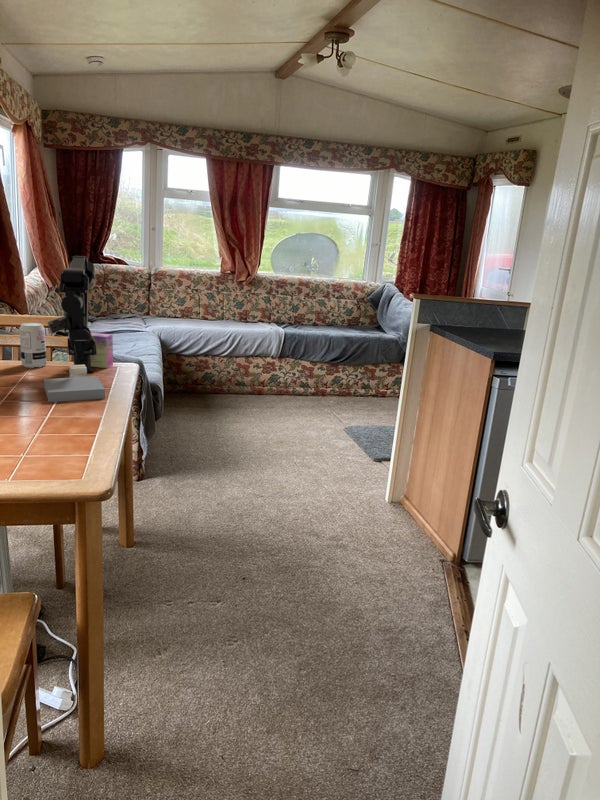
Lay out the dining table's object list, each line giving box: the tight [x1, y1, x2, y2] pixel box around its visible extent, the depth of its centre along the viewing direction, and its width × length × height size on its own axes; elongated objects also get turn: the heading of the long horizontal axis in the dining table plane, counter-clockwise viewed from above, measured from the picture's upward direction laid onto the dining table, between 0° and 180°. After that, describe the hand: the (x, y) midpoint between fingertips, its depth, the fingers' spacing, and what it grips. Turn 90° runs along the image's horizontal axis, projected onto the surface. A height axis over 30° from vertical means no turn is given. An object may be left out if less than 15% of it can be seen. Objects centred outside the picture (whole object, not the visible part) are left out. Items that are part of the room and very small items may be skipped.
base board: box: [43, 375, 106, 403], centre depth 188 cm, size 16×16×3 cm
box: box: [90, 332, 114, 369], centre depth 222 cm, size 10×6×12 cm, turn 84°
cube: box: [68, 364, 88, 378], centre depth 201 cm, size 5×5×5 cm
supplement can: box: [18, 322, 48, 369], centre depth 216 cm, size 8×8×15 cm
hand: (77, 356), depth 200 cm, fingers open, 9 cm apart
